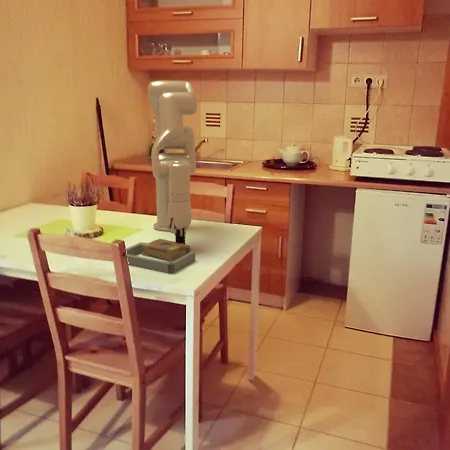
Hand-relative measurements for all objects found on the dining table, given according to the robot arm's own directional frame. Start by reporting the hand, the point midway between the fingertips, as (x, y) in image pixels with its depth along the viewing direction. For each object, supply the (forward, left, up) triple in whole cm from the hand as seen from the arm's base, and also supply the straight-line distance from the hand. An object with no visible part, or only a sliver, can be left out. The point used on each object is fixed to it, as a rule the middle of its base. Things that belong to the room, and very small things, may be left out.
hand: (180, 245), depth 179 cm
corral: (+15, 0, -1) cm, 15 cm away
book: (+8, -1, -2) cm, 8 cm away
